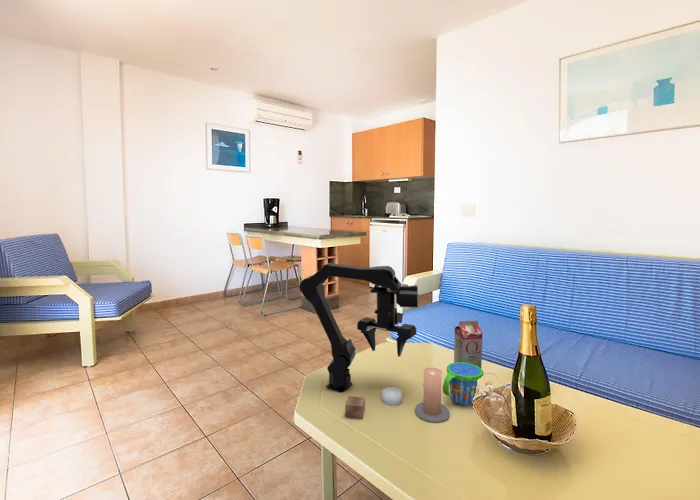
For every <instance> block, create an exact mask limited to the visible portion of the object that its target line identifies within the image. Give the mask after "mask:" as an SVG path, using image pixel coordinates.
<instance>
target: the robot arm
mask: <svg viewBox="0 0 700 500" xmlns="http://www.w3.org/2000/svg"><path fill="white" fill-rule="evenodd" d="M330 277H334V278H335V277H336V278H344V279H350V280H360V281H366V282H367V283H369V284H371V285H374V287H372V288H371V289H370V291H369V292H370V293H371V294H376V309H375V310H374V314H376V319H375V318H372V317H364V318H362V319H360V320H359V321H358V322H357V323H356V329H357V330H358V331H360V333H361V334H362V335H363V336H364V337H365V340H366V341H367V343H368V344H369V347H370V349H371V350H372V352H375V350H376V331H377V330H382V331H386V332H393V333H396V334H397V337H396V351H397V357H401V356H402V353H403V350H404V347H405V344H406V342H407V341H408V340H410V339H412V338H413V337H415V335H417V328H416V326H415V325H414V324H408V323H403V316H404V313H403V312H402V313H401V312H398V310H397V309H398V308H397V307H396V305H395V304H397V306H399V307H400V308H411V309H412V308H415V309H418V308H419V303H420V301H419V300H420V299H419V297H420V296H419V290H418V287H419V286H418V285H402V283H401V282H400V280H399V279H398V278H397V277H396V271H395V269H394V268H393V267H391V266H389V265H381V266H370V267H365V266H364V267H363V266H357V265H356V266H355V265H349V264H348V265H347V264H340V263H338V264H337V263H333V262H328V263H326V264H325V265H323V266H322V268H320V269H319V270H317V272H315V273H314V274H313V275H309V276H307V277H305V278H303V279H302V280H301V282H300V284H299V286H298V287H299V291H300V293H301V294H302V295H303V297H304V298H305V300H306V301H307V302H308V303H310V305H312V307H313V308H314V309H313V310H314V311H315V313H316V315H317V317H318V319H319V321H320V324H321V325H322V328H323V331H324V332H325V334H326V336H327V339H328V341H329V342H330V348H331V357H332V360H331V362H330V363H329V364H328V366H327V367H326V369H327V371H328V373H329V374H328V381H329V382H328V384H327V385H326V388H327V389H329V390H334V391H336V392H339V393H344V392H345V391H346V390H347V389H349V388H350V387H351V386H352V385H353V383H352V380H351V373H350V368H349V367H350V366H351V364H352V363H353V361H354V359H355V357H356V347H355V346H354V344H353V341H352V339H351V338H349V339H346V338H345V337H344V336H343V334H342V332H341V329H340V328H339V325H338V323H337V321H336V319H335V317H334V315H333V312H332V311H331V308H330V305H329V304H328V302H327V300H326V295H325V294H326V293H325V287H324V283H325V282H326V281H327V280H328V279H329V278H330ZM399 323H400V324H402V323H403V324H402V325H401V326H397V325H398V324H399Z"/></svg>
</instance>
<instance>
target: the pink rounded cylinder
mask: <svg viewBox="0 0 700 500" xmlns="http://www.w3.org/2000/svg"><path fill="white" fill-rule="evenodd" d="M442 375H443V374H442V371H441V369H440V368H436V367H426V368H424V369H423V394H422V395H423V396H422V397H423V400H422V402H423V411H424V412H425V413H426V414H428V415H439V414H440V413H441V404H442Z"/></svg>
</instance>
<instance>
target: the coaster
mask: <svg viewBox="0 0 700 500" xmlns="http://www.w3.org/2000/svg"><path fill="white" fill-rule="evenodd" d="M414 414H415V415H416V417H417V418H418V419H420V420H422V421H424V422H427V423H433V424H439V423H444V422H446V421H448V420H449V419H450V416H451V411H450V410H449V408H448V407H447V406H445V405H444V404H442V403H441V413H440V414H439V415H428V414H426V413H425V412H424V411H423V401H422V402H419V403H418V404H416V405H415V407H414Z"/></svg>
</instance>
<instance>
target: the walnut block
mask: <svg viewBox="0 0 700 500" xmlns="http://www.w3.org/2000/svg"><path fill="white" fill-rule="evenodd" d="M344 407H345V409H344V413H345V417H346V419H353V420H356V419H357V420H363V419H364V416H365V412H366V397H364V396H363V397H362V396H354V395H353V396H352V395H348V396H347V399H346V402H345V404H344Z"/></svg>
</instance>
